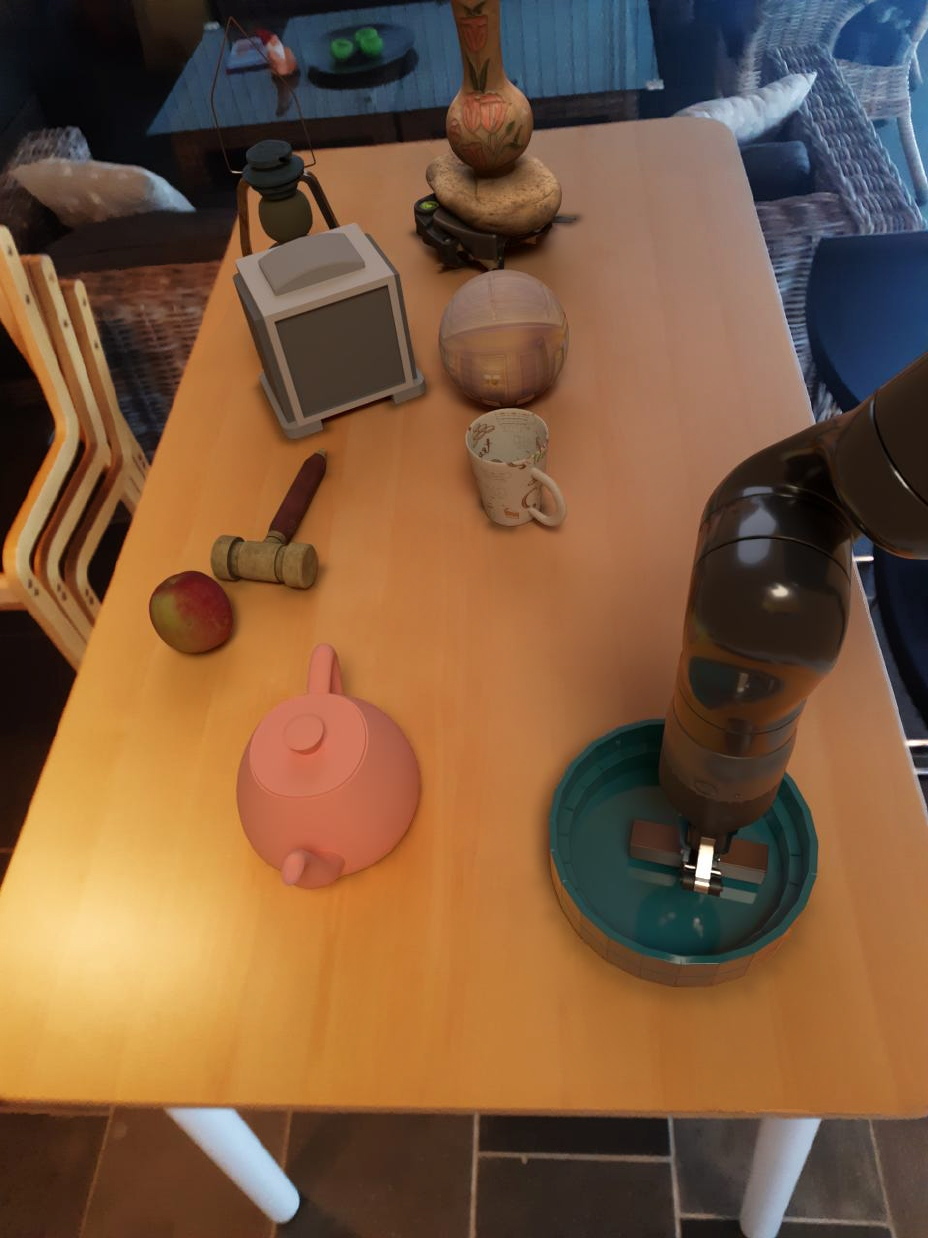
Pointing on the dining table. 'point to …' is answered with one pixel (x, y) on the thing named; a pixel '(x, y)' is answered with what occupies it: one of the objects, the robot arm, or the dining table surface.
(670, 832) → the stick
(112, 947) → the dining table surface
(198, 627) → the apple
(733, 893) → the bowl
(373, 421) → the dining table surface
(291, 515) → the gavel
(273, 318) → the alarm clock
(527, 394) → the ornament
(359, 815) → the teapot
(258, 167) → the lantern
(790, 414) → the dining table surface
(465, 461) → the dining table surface
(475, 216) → the vase
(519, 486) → the mug
